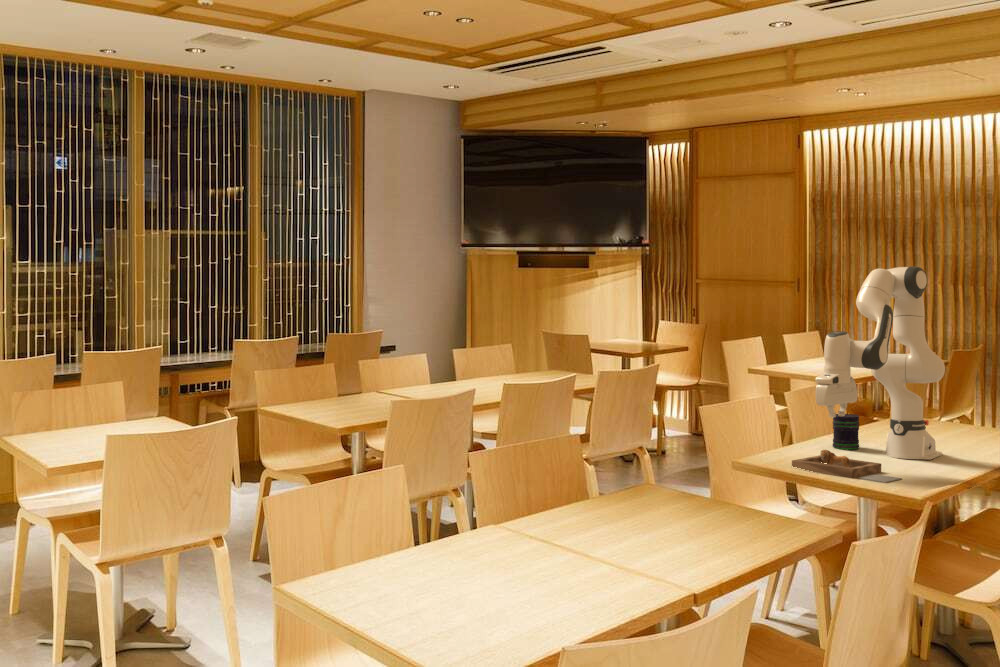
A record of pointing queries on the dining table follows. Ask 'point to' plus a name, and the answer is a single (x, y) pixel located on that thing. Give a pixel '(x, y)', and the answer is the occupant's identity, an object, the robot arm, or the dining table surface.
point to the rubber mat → (880, 478)
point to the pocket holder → (838, 467)
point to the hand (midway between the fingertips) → (837, 416)
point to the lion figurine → (834, 458)
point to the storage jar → (846, 432)
